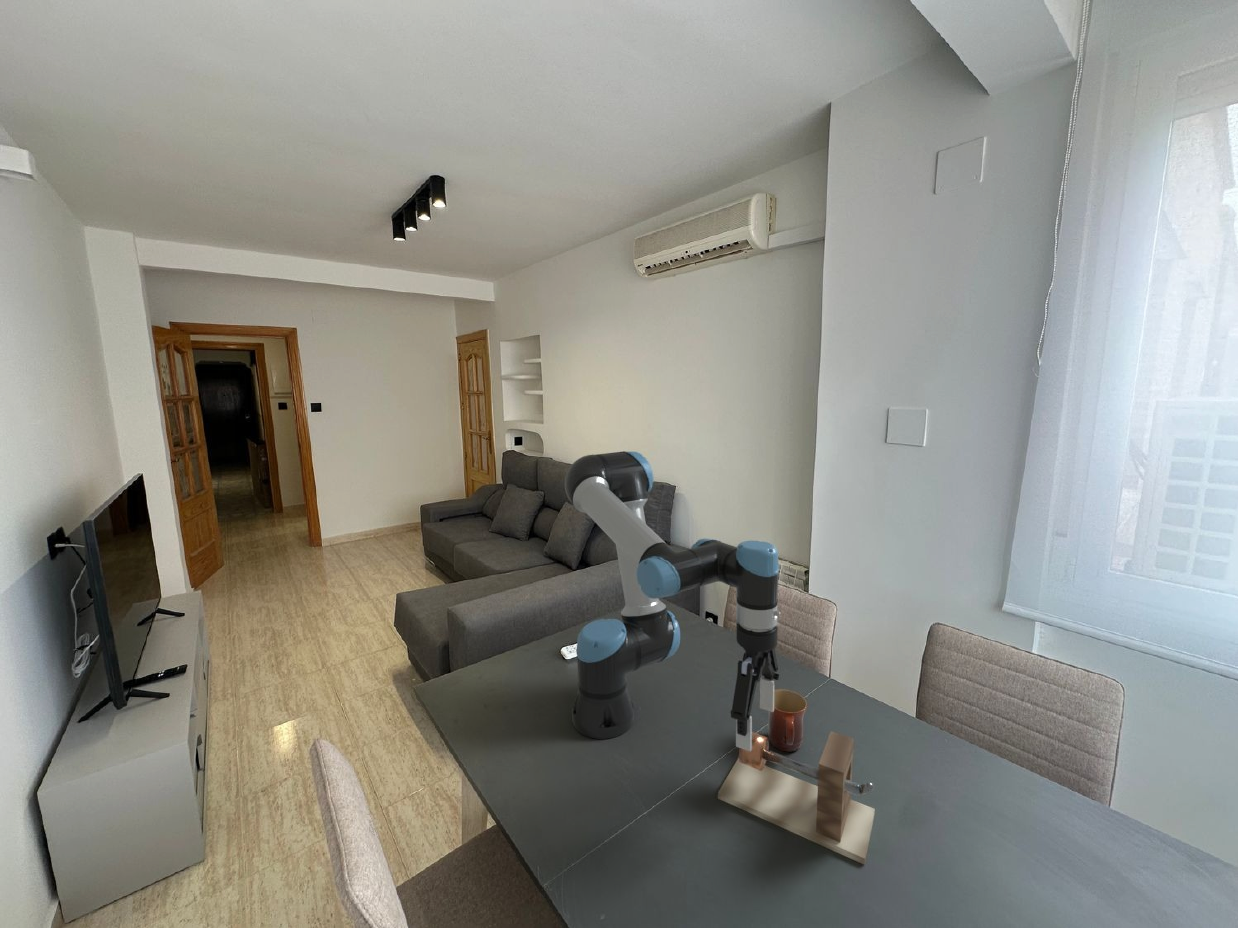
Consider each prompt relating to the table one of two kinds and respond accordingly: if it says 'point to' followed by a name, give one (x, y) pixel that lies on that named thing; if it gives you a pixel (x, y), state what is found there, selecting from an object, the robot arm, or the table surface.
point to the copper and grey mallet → (789, 763)
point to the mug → (787, 720)
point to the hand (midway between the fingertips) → (755, 727)
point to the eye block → (834, 786)
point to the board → (795, 807)
